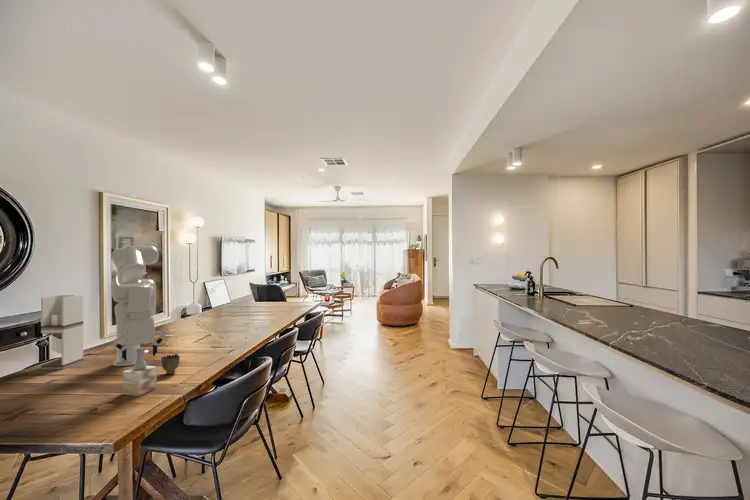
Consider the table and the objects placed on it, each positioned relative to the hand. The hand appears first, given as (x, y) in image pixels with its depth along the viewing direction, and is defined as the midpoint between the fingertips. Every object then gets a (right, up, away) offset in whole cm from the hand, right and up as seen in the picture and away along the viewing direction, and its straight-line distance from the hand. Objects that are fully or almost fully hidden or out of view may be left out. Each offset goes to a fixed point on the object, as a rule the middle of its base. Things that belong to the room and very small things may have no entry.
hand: (139, 357), depth 136 cm
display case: (-61, -15, +32) cm, 71 cm away
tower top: (0, -9, -1) cm, 9 cm away
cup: (+1, -14, +19) cm, 24 cm away
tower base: (0, -14, -1) cm, 14 cm away
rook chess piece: (0, -5, 0) cm, 5 cm away
